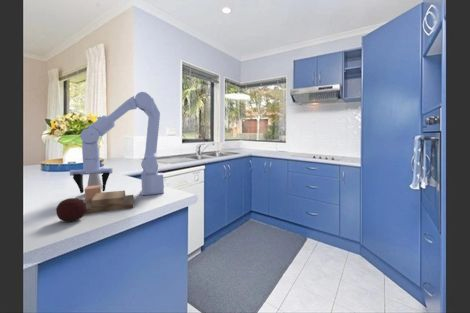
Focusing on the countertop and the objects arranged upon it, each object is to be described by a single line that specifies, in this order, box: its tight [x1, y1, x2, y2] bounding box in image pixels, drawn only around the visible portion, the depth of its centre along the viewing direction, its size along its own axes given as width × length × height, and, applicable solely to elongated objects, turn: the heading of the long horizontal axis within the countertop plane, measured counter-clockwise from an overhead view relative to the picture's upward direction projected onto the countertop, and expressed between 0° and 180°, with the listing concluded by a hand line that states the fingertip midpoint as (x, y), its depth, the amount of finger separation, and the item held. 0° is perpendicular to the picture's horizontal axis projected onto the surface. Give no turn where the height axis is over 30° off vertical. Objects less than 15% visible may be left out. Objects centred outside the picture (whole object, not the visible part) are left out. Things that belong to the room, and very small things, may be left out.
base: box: [84, 190, 135, 215], centre depth 84 cm, size 16×13×4 cm
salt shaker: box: [86, 172, 103, 191], centre depth 100 cm, size 6×6×13 cm
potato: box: [55, 197, 86, 222], centre depth 69 cm, size 7×8×7 cm
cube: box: [84, 185, 102, 202], centre depth 92 cm, size 5×5×5 cm
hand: (93, 191), depth 91 cm, fingers open, 7 cm apart
